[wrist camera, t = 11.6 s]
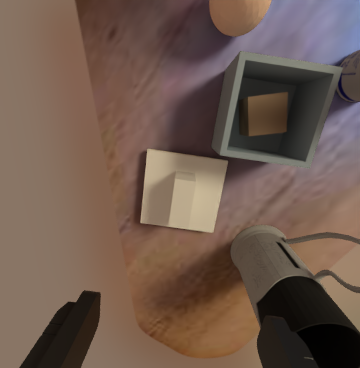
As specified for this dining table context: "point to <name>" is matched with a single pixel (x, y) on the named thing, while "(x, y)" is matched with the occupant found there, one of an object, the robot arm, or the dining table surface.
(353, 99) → the beverage can
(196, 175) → the lid
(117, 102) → the dining table surface
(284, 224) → the dining table surface
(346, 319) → the glass holder
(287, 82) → the tin box
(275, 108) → the walnut block
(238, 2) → the egg
